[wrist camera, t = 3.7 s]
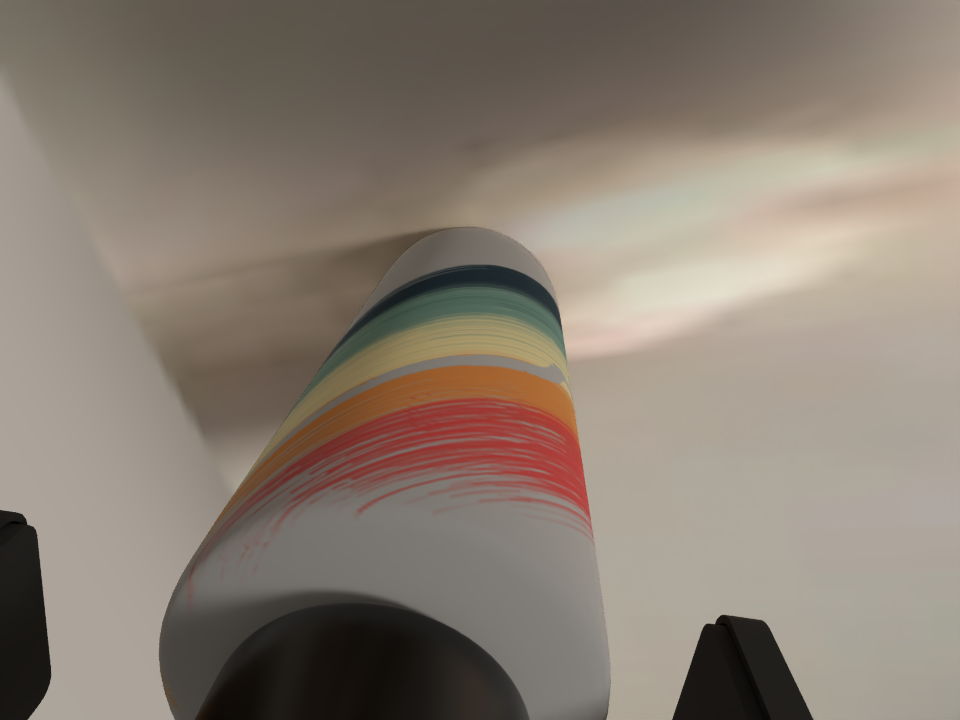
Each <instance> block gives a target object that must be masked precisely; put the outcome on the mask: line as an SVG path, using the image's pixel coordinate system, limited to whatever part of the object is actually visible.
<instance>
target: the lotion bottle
mask: <svg viewBox="0 0 960 720" xmlns="http://www.w3.org/2000/svg"><path fill="white" fill-rule="evenodd" d="M159 661H160V672H161V677H162V682H163V686H164V690H165V695H166V697H167V701H168V703H169V706H170V709H171V712H172V714H173V716H174V718H175V720H606V718H607V714H608V706H609V696H610V684H611V679H610V658H609V648H608V639H607V631H606V623H605V615H604V608H603V601H602V593H601V586H600V579H599V572H598V566H597V559H596V552H595V545H594V538H593V532H592V525H591V518H590V512H589V505H588V498H587V492H586V485H585V479H584V472H583V465H582V459H581V452H580V445H579V439H578V432H577V425H576V419H575V412H574V405H573V399H572V392H571V385H570V379H569V372H568V365H567V359H566V352H565V345H564V339H563V332H562V325H561V319H560V313H559V308H558V303H557V299H556V295H555V292H554V289H553V286H552V284H551V281H550V279H549V277H548V275H547V273H546V272H545V270H544V268H543V267H542V265H541V264H540V263H539V262H538V260H537V259H536V258H535V257H534V256H533V255H532V254H531V253H530V252H529V251H528V250H527V249H526V248H525V247H523V246H522V245H521V244H519V243H518V242H516V241H515V240H513V239H511V238H509V237H507V236H505V235H503V234H500V233H498V232H494V231H491V230H487V229H483V228H475V227H459V228H451V229H446V230H442V231H439V232H436V233H433V234H431V235H428V236H426V237H425V238H423V239H421V240H419V241H418V242H416V243H415V244H413V245H412V246H411V247H410V248H408V249H407V250H406V251H405V252H404V253H403V254H402V255H401V256H400V257H399V258H398V259H397V260H396V261H395V263H394V264H393V265H392V266H391V267H390V269H389V270H388V271H387V273H386V274H385V275H384V277H383V278H382V280H381V281H380V283H379V284H378V285H377V287H376V288H375V290H374V291H373V293H372V294H371V296H370V297H369V298H368V300H367V301H366V303H365V304H364V306H363V307H362V309H361V310H360V312H359V313H358V314H357V316H356V317H355V319H354V320H353V322H352V323H351V325H350V326H349V328H348V329H347V330H346V332H345V333H344V335H343V336H342V338H341V339H340V341H339V342H338V344H337V345H336V346H335V348H334V349H333V351H332V352H331V354H330V355H329V357H328V358H327V359H326V361H325V362H324V364H323V365H322V367H321V368H320V370H319V371H318V373H317V374H316V375H315V377H314V378H313V380H312V381H311V383H310V384H309V386H308V387H307V389H306V390H305V391H304V393H303V394H302V396H301V397H300V399H299V400H298V402H297V403H296V404H295V406H294V407H293V409H292V410H291V412H290V413H289V415H288V416H287V418H286V419H285V420H284V422H283V423H282V425H281V426H280V428H279V429H278V431H277V432H276V434H275V435H274V436H273V438H272V439H271V441H270V442H269V444H268V445H267V447H266V448H265V450H264V451H263V452H262V454H261V455H260V457H259V458H258V460H257V461H256V463H255V464H254V466H253V467H252V468H251V470H250V471H249V473H248V474H247V476H246V477H245V479H244V480H243V482H242V483H241V485H240V486H239V487H238V489H237V490H236V492H235V493H234V495H233V496H232V498H231V499H230V501H229V502H228V504H227V505H226V507H225V508H224V510H223V511H222V513H221V514H220V516H219V517H218V519H217V520H216V522H215V523H214V525H213V526H212V528H211V530H210V531H209V532H208V534H207V536H206V538H205V539H204V540H203V542H202V543H201V545H200V546H199V548H198V550H197V551H196V552H195V554H194V555H193V557H192V559H191V560H190V562H189V564H188V565H187V567H186V569H185V570H184V572H183V573H182V575H181V577H180V579H179V581H178V583H177V585H176V587H175V589H174V592H173V594H172V596H171V599H170V601H169V604H168V607H167V610H166V613H165V616H164V620H163V623H162V628H161V634H160V643H159Z"/></svg>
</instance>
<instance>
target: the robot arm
mask: <svg viewBox="0 0 960 720" xmlns="http://www.w3.org/2000/svg"><path fill="white" fill-rule="evenodd" d="M50 679H51V665H50V655H49V645H48V636H47V627H46V616H45V607H44V597H43V587H42V578H41V568H40V558H39V548H38V539H37V533H36V530H35V529H34V527H32V526H29V525H27V521H26V518H25V517H24V516H23V515H22V514H20V513H16V512H9V511H2V510H0V720H28V718H29V717H30V716H31V715H32V713H33V712H34V711H35V709H36V708H37V707H38V705H39V704H40V703H41V701H42V699H43V698H44V696H45V694H46V692H47V690H48V687H49V684H50ZM672 720H813V718H812V716H811V714H810V712H809V709H808V707H807V705H806V703H805V701H804V699H803V697H802V695H801V693H800V691H799V689H798V687H797V684H796V682H795V680H794V678H793V676H792V674H791V672H790V670H789V668H788V666H787V664H786V662H785V660H784V657H783V655H782V653H781V651H780V649H779V647H778V645H777V643H776V641H775V639H774V637H773V635H772V632H771V630H770V628H769V627H768V625H767V624H766V623H765V622H764V621H762V620H756V619H749V618H743V617H736V616H729V615H721V616H720V617H719V618H718V619H717V621H716V623H715V624H706V625H705V626H704V627H703V630H702V632H701V635H700V638H699V641H698V644H697V647H696V650H695V653H694V656H693V659H692V662H691V665H690V668H689V671H688V674H687V677H686V680H685V683H684V686H683V689H682V692H681V695H680V698H679V701H678V704H677V707H676V710H675V713H674V716H673V719H672Z"/></svg>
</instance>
